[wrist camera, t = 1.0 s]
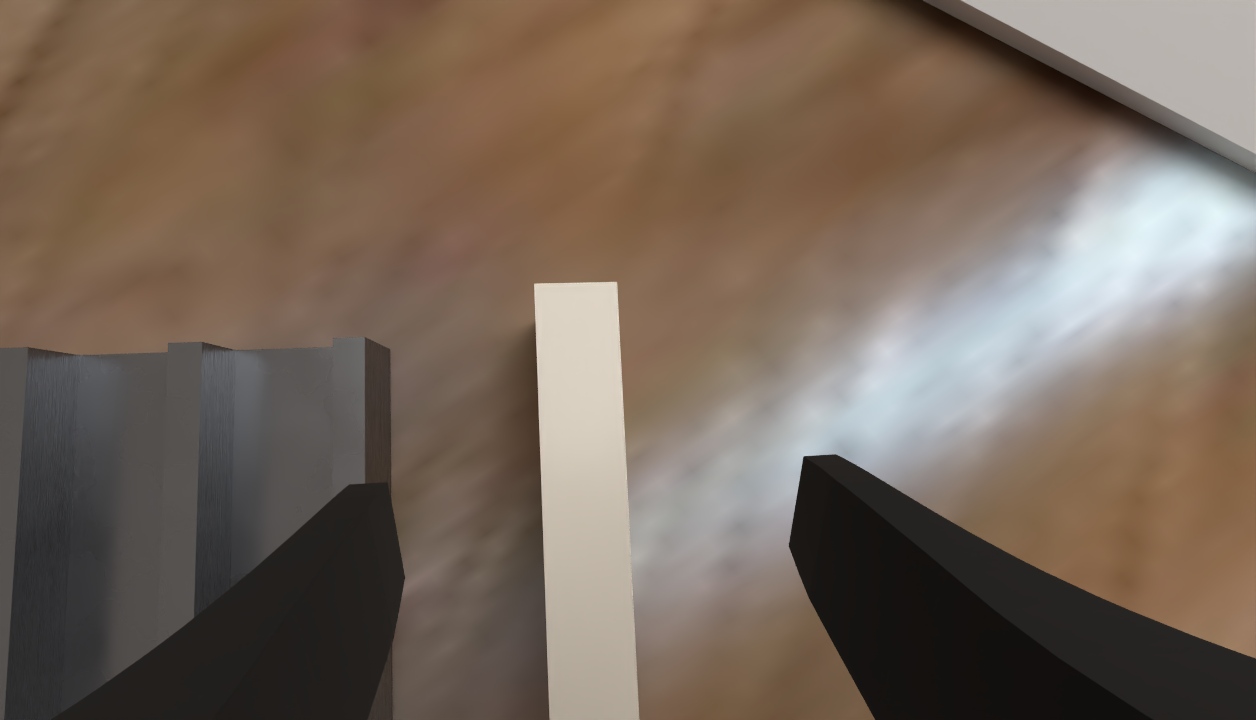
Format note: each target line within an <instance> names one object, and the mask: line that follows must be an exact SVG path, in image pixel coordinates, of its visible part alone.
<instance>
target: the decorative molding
mask: <svg viewBox="0 0 1256 720" xmlns="http://www.w3.org/2000/svg"><path fill="white" fill-rule="evenodd" d="M923 1H925V2H927V3H929V4H930V5H932V6H934V7H936V8H938V9H940V10H942V11H944V12H946V13H948V14H950V15H952V16H954V17H956V18H957V19H959V20H961V21H963V22H965V23H967V24H969V25H971V26H973V27H975V28H977V29H979V30H981V31H982V32H984V33H986V34H988V35H990V36H992V37H994V38H996V39H998V40H1000V41H1002V42H1004V43H1006V44H1008V45H1009V46H1011V47H1013V48H1015V49H1017V50H1019V51H1021V52H1023V53H1025V54H1027V55H1029V56H1031V57H1033V58H1035V59H1036V60H1038V61H1040V62H1042V63H1044V64H1046V65H1048V66H1050V67H1052V68H1054V69H1056V70H1058V71H1060V72H1061V73H1063V74H1065V75H1067V76H1069V77H1071V78H1073V79H1075V80H1077V81H1079V82H1081V83H1083V84H1085V85H1087V86H1088V87H1090V88H1092V89H1094V90H1096V91H1098V92H1100V93H1102V94H1104V95H1106V96H1108V97H1110V98H1112V99H1114V100H1115V101H1117V102H1119V103H1121V104H1123V105H1125V106H1127V107H1129V108H1131V109H1133V110H1135V111H1137V112H1139V113H1140V114H1142V115H1144V116H1146V117H1148V118H1150V119H1152V120H1154V121H1156V122H1158V123H1160V124H1162V125H1164V126H1166V127H1167V128H1169V129H1171V130H1173V131H1175V132H1177V133H1179V134H1181V135H1183V136H1185V137H1187V138H1189V139H1191V140H1193V141H1194V142H1196V143H1198V144H1200V145H1202V146H1204V147H1206V148H1208V149H1210V150H1212V151H1214V152H1216V153H1218V154H1219V155H1221V156H1223V157H1225V158H1227V159H1229V160H1231V161H1233V162H1235V163H1237V164H1239V165H1241V166H1243V167H1245V168H1246V169H1248V170H1250V171H1252V172H1254V173H1256V0H923Z"/></svg>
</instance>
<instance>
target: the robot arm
mask: <svg viewBox="0 0 1256 720" xmlns="http://www.w3.org/2000/svg"><path fill="white" fill-rule="evenodd" d="M789 548H790V550H791V553H792V556H793V558H794V561H795V564H796V566H797V569H798V572H799V575H800V577H801V579H802V582H803V584H804V587H805V589H806V592H807V594H808V597H809V599H810V601H811V603H812V605H813V606H814V608H815V610H816V612H817V614H818V616H819V618H820V620H821V621H822V623H823V625H824V627H825V629H826V631H827V633H828V634H829V636H830V638H831V640H832V642H833V644H834V645H835V647H836V649H837V651H838V653H839V655H840V656H841V658H842V660H843V662H844V664H845V666H846V667H847V669H848V671H849V673H850V675H851V676H852V678H853V680H854V682H855V684H856V686H857V687H858V689H859V691H860V693H861V695H862V696H863V698H864V700H865V702H866V704H867V706H868V707H869V709H870V711H871V713H872V715H873V717H874V718H875V720H1256V659H1255V658H1252V657H1250V656H1247V655H1244V654H1241V653H1238V652H1236V651H1233V650H1230V649H1227V648H1225V647H1222V646H1219V645H1217V644H1214V643H1211V642H1208V641H1206V640H1203V639H1200V638H1198V637H1195V636H1192V635H1190V634H1187V633H1185V632H1182V631H1180V630H1177V629H1175V628H1172V627H1170V626H1167V625H1165V624H1162V623H1160V622H1157V621H1155V620H1152V619H1150V618H1147V617H1145V616H1142V615H1140V614H1138V613H1135V612H1133V611H1130V610H1128V609H1125V608H1123V607H1121V606H1118V605H1116V604H1114V603H1111V602H1109V601H1107V600H1105V599H1102V598H1100V597H1098V596H1095V595H1093V594H1091V593H1089V592H1087V591H1085V590H1083V589H1080V588H1078V587H1076V586H1074V585H1072V584H1070V583H1068V582H1065V581H1063V580H1061V579H1059V578H1057V577H1055V576H1053V575H1050V574H1048V573H1046V572H1044V571H1042V570H1040V569H1038V568H1036V567H1034V566H1032V565H1030V564H1028V563H1026V562H1024V561H1022V560H1020V559H1018V558H1016V557H1014V556H1012V555H1011V554H1009V553H1007V552H1005V551H1003V550H1001V549H999V548H998V547H996V546H994V545H992V544H990V543H988V542H986V541H984V540H983V539H981V538H979V537H977V536H975V535H973V534H972V533H970V532H968V531H966V530H965V529H963V528H961V527H959V526H958V525H956V524H954V523H952V522H951V521H949V520H947V519H945V518H944V517H942V516H940V515H939V514H937V513H935V512H933V511H932V510H930V509H928V508H927V507H925V506H923V505H922V504H920V503H918V502H917V501H915V500H913V499H912V498H910V497H908V496H907V495H905V494H903V493H902V492H900V491H898V490H897V489H895V488H894V487H892V486H890V485H889V484H887V483H885V482H884V481H882V480H880V479H879V478H877V477H875V476H874V475H872V474H870V473H869V472H867V471H865V470H864V469H862V468H860V467H858V466H857V465H855V464H853V463H851V462H849V461H848V460H846V459H844V458H842V457H840V456H838V455H836V454H835V455H819V456H804V458H803V464H802V470H801V476H800V482H799V488H798V494H797V500H796V506H795V512H794V518H793V524H792V530H791V536H790V542H789ZM404 580H405V575H404V569H403V564H402V558H401V553H400V547H399V542H398V536H397V531H396V525H395V519H394V514H393V508H392V503H391V497H390V492H389V486H388V482H381V483H365V484H349V485H348V486H347V487H345V488H344V489H343V490H342V491H341V492H339V493H338V494H337V495H336V496H335V497H334V498H333V499H332V500H330V501H329V502H328V503H327V504H326V505H325V506H324V507H323V508H322V509H320V510H319V511H318V512H317V513H316V514H315V515H314V516H313V517H312V518H311V519H309V520H308V521H307V522H306V523H305V524H304V525H303V526H302V527H301V528H300V529H298V530H297V531H296V532H295V533H294V534H293V535H292V536H291V537H289V538H288V539H287V540H286V541H285V542H284V543H283V544H282V545H280V546H279V547H278V548H277V549H276V550H275V551H274V552H272V553H271V554H270V555H269V556H268V557H267V558H266V559H265V560H263V561H262V562H261V563H260V564H259V565H258V566H257V567H255V568H254V569H253V570H252V571H251V572H250V573H248V574H247V575H246V576H245V577H244V578H242V579H241V580H240V581H239V582H237V583H236V584H235V585H234V586H232V587H231V588H230V589H229V590H228V591H226V592H225V593H224V594H223V595H221V596H220V597H219V598H218V599H216V600H215V601H214V602H213V603H212V604H210V605H209V606H208V607H207V608H205V609H204V610H203V611H202V612H200V613H199V614H198V615H197V616H196V617H194V618H193V619H192V620H191V621H189V622H188V623H187V624H186V625H184V626H183V627H182V628H181V629H179V630H178V631H177V632H175V633H174V634H173V635H171V636H170V637H169V638H167V639H166V640H165V641H163V642H162V643H161V644H159V645H158V646H157V647H155V648H154V649H153V650H151V651H150V652H149V653H147V654H146V655H144V656H143V657H142V658H140V659H139V660H137V661H136V662H135V663H133V664H132V665H130V666H129V667H128V668H126V669H125V670H123V671H122V672H120V673H119V674H118V675H116V676H115V677H113V678H112V679H111V680H109V681H108V682H106V683H105V684H103V685H102V686H101V687H99V688H98V689H96V690H95V691H93V692H92V693H90V694H89V695H88V696H86V697H85V698H83V699H82V700H80V701H79V702H77V703H76V704H74V705H73V706H71V707H69V708H68V709H66V710H65V711H63V712H62V713H60V714H59V715H57V716H55V717H54V718H52V719H51V720H368V717H369V714H370V710H371V707H372V704H373V701H374V698H375V695H376V692H377V689H378V686H379V682H380V679H381V676H382V673H383V670H384V667H385V663H386V660H387V657H388V654H389V651H390V647H391V644H392V641H393V638H394V633H395V628H396V623H397V618H398V613H399V608H400V602H401V597H402V591H403V585H404Z"/></svg>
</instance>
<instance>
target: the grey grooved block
mask: <svg viewBox="0 0 1256 720" xmlns="http://www.w3.org/2000/svg"><path fill="white" fill-rule="evenodd" d="M381 482H388V486H389V492H390V497H391V428H390V349H389V348H386V347H384V346H382V345H380V344H378V343H376V342H374V341H372V340H370V339H368V338H366V337H351V338H333V347H322V348H292V349H261V350H233V349H228V348H224V347H220V346H216V345H212V344H208V343H204V342H188V343H168V353H138V354H107V355H74V354H68V353H61V352H55V351H48V350H42V349H35V348H29V347H24V348H0V720H51V719H52V718H54V717H55V716H57V715H59V714H60V713H62V712H63V711H65V710H66V709H68V708H69V707H71V706H73V705H74V704H76V703H77V702H79V701H80V700H82V699H83V698H85V697H86V696H88V695H89V694H90V693H92V692H93V691H95V690H96V689H98V688H99V687H101V686H102V685H103V684H105V683H106V682H108V681H109V680H111V679H112V678H113V677H115V676H116V675H118V674H119V673H120V672H122V671H123V670H125V669H126V668H128V667H129V666H130V665H132V664H133V663H135V662H136V661H137V660H139V659H140V658H142V657H143V656H144V655H146V654H147V653H149V652H150V651H151V650H153V649H154V648H155V647H157V646H158V645H159V644H161V643H162V642H163V641H165V640H166V639H167V638H169V637H170V636H171V635H173V634H174V633H175V632H177V631H178V630H179V629H181V628H182V627H183V626H184V625H186V624H187V623H188V622H189V621H191V620H192V619H193V618H194V617H196V616H197V615H198V614H199V613H200V612H202V611H203V610H204V609H205V608H207V607H208V606H209V605H210V604H212V603H213V602H214V601H215V600H216V599H218V598H219V597H220V596H221V595H223V594H224V593H225V592H226V591H228V590H229V589H230V588H231V587H232V586H234V585H235V584H236V583H237V582H239V581H240V580H241V579H242V578H244V577H245V576H246V575H247V574H248V573H250V572H251V571H252V570H253V569H254V568H255V567H257V566H258V565H259V564H260V563H261V562H262V561H263V560H265V559H266V558H267V557H268V556H269V555H270V554H271V553H272V552H274V551H275V550H276V549H277V548H278V547H279V546H280V545H282V544H283V543H284V542H285V541H286V540H287V539H288V538H289V537H291V536H292V535H293V534H294V533H295V532H296V531H297V530H298V529H300V528H301V527H302V526H303V525H304V524H305V523H306V522H307V521H308V520H309V519H311V518H312V517H313V516H314V515H315V514H316V513H317V512H318V511H319V510H320V509H322V508H323V507H324V506H325V505H326V504H327V503H328V502H329V501H330V500H332V499H333V498H334V497H335V496H336V495H337V494H338V493H339V492H341V491H342V490H343V489H344V488H345V487H347V486H348V485H349V484H365V483H381ZM368 720H392V644H391V647H390V651H389V654H388V657H387V660H386V663H385V667H384V670H383V673H382V676H381V679H380V682H379V686H378V689H377V692H376V695H375V698H374V701H373V704H372V707H371V710H370V714H369V717H368Z"/></svg>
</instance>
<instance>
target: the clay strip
mask: <svg viewBox="0 0 1256 720" xmlns="http://www.w3.org/2000/svg"><path fill="white" fill-rule="evenodd" d="M534 289H535V317H536V346H537V374H538V403H539V431H540V460H541V488H542V517H543V545H544V574H545V603H546V631H547V660H548V688H549V717H550V720H639V705H638V685H637V666H636V646H635V627H634V607H633V588H632V568H631V549H630V529H629V510H628V490H627V470H626V451H625V431H624V412H623V392H622V373H621V353H620V334H619V314H618V295H617V282H594V283H547V284H534Z"/></svg>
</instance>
